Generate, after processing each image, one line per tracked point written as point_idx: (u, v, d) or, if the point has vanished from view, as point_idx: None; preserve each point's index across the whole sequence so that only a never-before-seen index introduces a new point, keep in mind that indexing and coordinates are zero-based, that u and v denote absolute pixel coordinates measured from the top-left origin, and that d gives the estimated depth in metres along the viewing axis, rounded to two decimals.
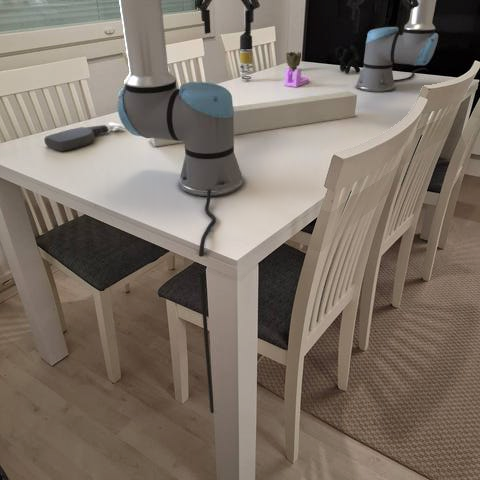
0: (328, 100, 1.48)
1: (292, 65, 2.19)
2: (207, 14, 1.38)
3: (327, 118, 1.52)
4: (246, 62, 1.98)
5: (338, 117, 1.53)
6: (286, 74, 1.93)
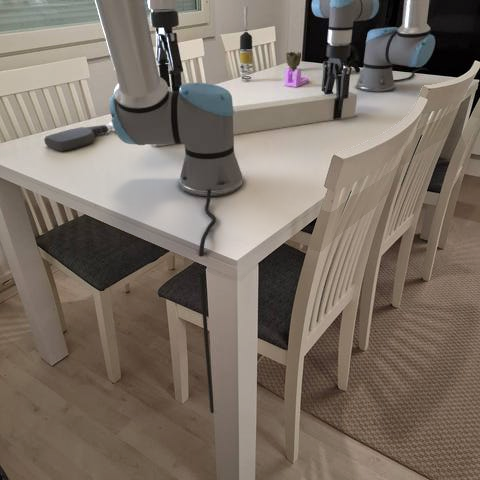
0: (328, 100, 1.48)
1: (292, 65, 2.19)
2: (163, 68, 1.32)
3: (327, 118, 1.52)
4: (246, 62, 1.98)
5: None
6: (286, 74, 1.93)
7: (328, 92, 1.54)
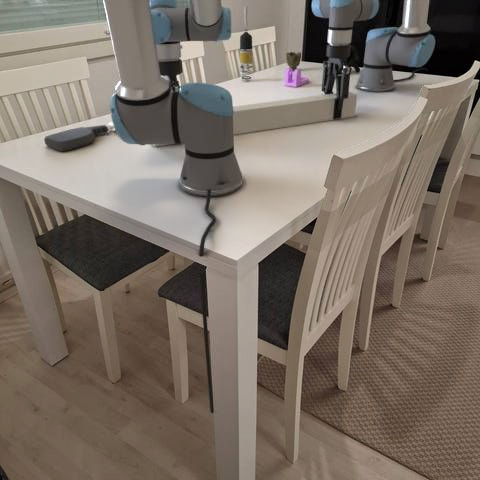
0: (328, 100, 1.48)
1: (292, 65, 2.19)
2: None
3: (327, 118, 1.52)
4: (246, 62, 1.98)
5: None
6: (286, 74, 1.93)
7: (328, 92, 1.54)
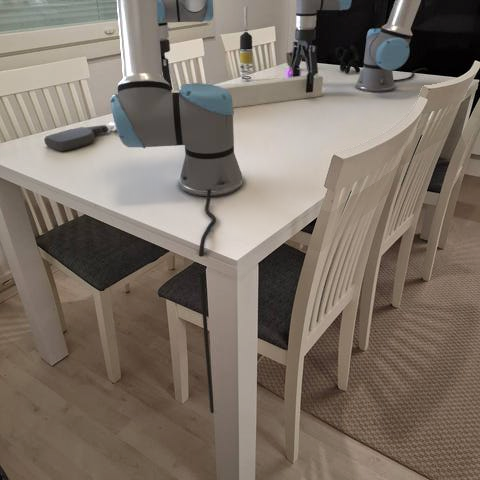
0: (297, 81, 1.72)
1: None
2: None
3: (297, 97, 1.76)
4: (246, 62, 1.98)
5: (307, 96, 1.77)
6: (286, 74, 1.93)
7: (295, 67, 1.79)
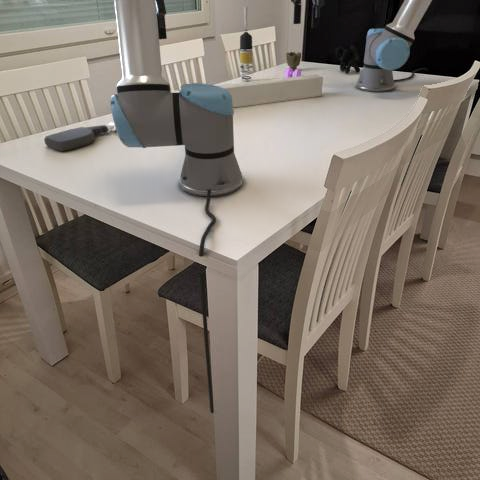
0: (297, 81, 1.72)
1: (292, 65, 2.19)
2: None
3: (297, 97, 1.76)
4: (246, 62, 1.98)
5: (307, 96, 1.77)
6: (286, 74, 1.93)
7: (297, 3, 1.67)
